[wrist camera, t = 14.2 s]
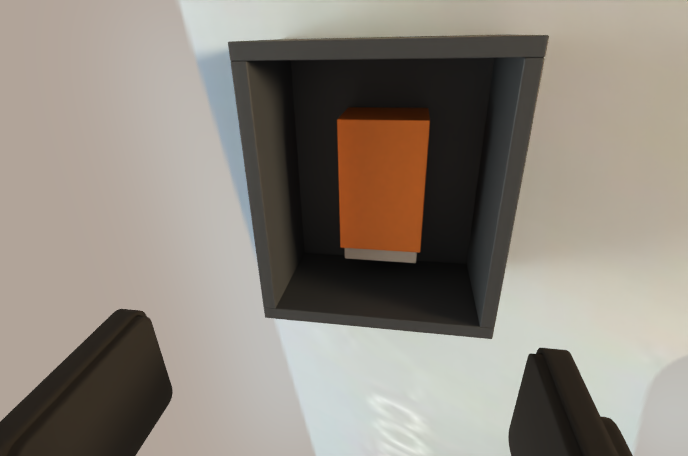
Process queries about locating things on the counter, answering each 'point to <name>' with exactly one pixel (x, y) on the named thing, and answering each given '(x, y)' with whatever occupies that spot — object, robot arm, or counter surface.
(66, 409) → the robot arm
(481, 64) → the trash bin
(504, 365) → the counter surface
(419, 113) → the block
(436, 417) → the counter surface
